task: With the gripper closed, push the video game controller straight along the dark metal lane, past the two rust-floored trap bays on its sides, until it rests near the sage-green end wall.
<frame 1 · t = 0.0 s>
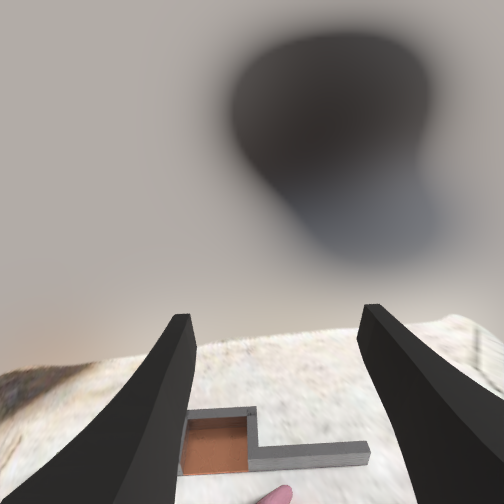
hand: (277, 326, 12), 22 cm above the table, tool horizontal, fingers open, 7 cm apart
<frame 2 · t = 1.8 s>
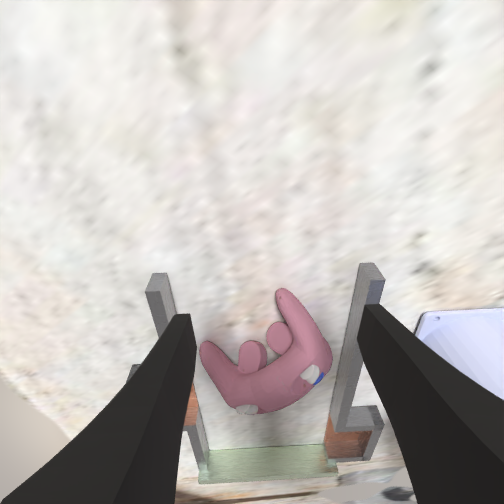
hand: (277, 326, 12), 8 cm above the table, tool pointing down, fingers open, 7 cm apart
video game controller: (260, 328, 25), on the table
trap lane: (265, 374, 27), on the table
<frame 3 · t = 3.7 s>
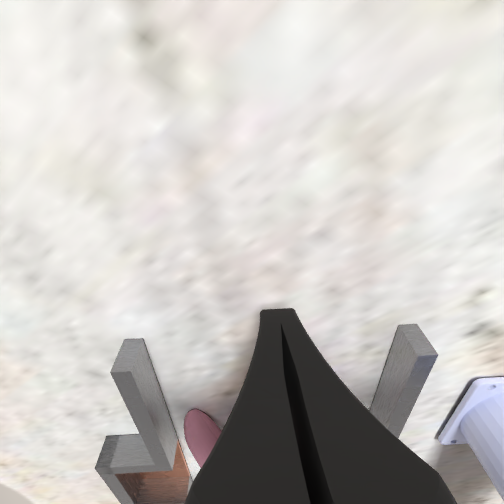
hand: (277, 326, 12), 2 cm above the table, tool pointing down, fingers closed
video game controller: (262, 393, 19), on the table
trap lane: (271, 443, 22), on the table
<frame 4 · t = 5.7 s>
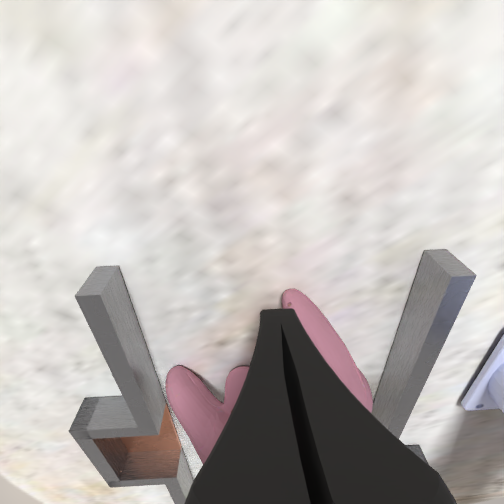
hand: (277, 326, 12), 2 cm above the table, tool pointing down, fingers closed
video game controller: (258, 348, 17), on the table, touching gripper
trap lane: (272, 409, 20), on the table
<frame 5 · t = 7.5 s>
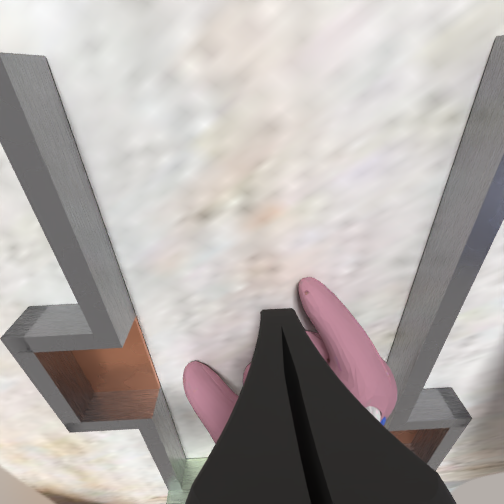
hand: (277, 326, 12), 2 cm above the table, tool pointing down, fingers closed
video game controller: (274, 340, 16), on the table, touching gripper
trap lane: (272, 329, 16), on the table
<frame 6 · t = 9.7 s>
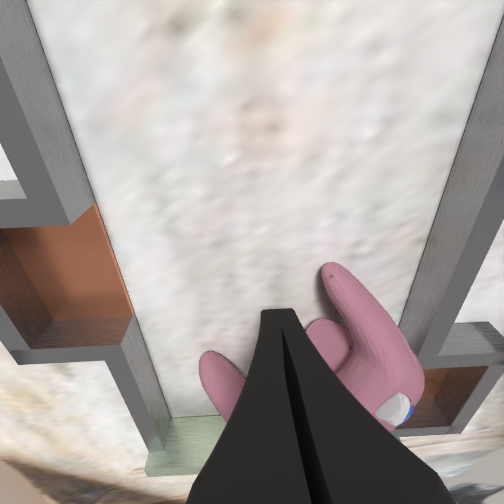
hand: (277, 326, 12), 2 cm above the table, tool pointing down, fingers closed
video game controller: (292, 330, 16), on the table, touching gripper
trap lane: (272, 227, 12), on the table
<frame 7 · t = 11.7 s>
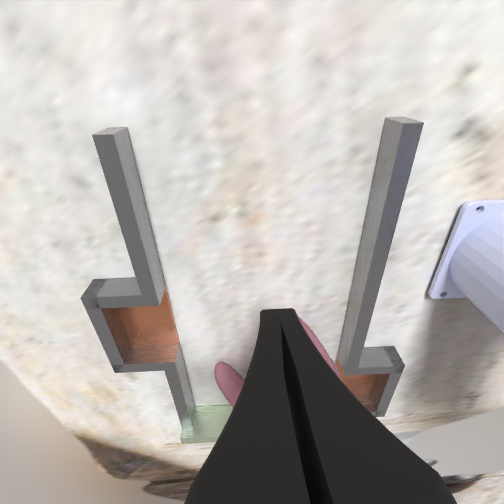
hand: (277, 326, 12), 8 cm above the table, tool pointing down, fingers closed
video game controller: (271, 349, 26), on the table
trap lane: (260, 297, 22), on the table
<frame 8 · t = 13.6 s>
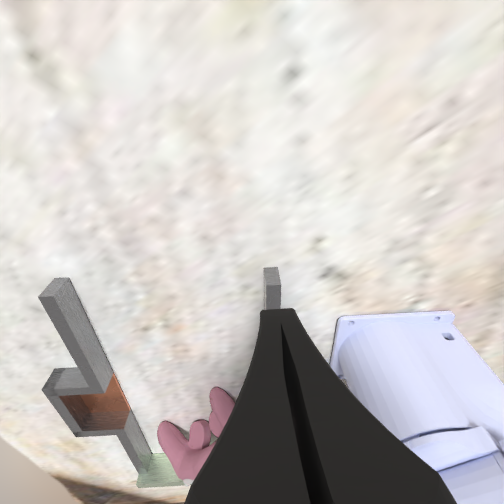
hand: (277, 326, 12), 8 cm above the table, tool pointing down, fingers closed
video game controller: (206, 410, 31), on the table
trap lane: (192, 378, 27), on the table
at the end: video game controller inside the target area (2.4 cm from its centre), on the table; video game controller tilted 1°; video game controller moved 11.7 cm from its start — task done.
